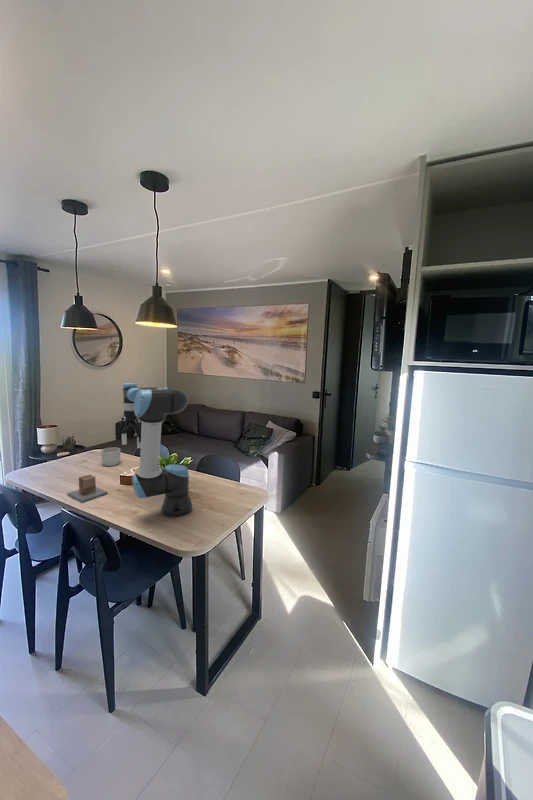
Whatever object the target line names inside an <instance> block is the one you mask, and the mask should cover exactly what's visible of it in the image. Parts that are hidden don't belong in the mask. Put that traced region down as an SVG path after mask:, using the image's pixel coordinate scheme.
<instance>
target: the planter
mask: <svg viewBox="0 0 533 800" xmlns="http://www.w3.org/2000/svg"><path fill="white" fill-rule="evenodd" d="M100 453H101V462H102V465H103V466H106V467H114V466H117V465H119V464H120V462H121V448H119V447H106V448H103V449H101V451H100Z"/></svg>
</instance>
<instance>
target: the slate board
mask: <svg viewBox="0 0 533 800" xmlns="http://www.w3.org/2000/svg"><path fill="white" fill-rule="evenodd" d="M107 495H109V493H108V491H106V490H104V489H102V488H98V487H97V486H96V492H95V493H92V494H89V495H86V496H85V495H82V494H80V493H79V489H77V490H76V489H75V490H74V491H70V492H67V493H66V496H67V497H70V498H72V499H73V500H75V501H77V502H79V503H81V504H84V503H87V502H89V501H92V500H95V499H97V498H101V497H104V496H107Z"/></svg>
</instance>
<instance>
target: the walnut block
mask: <svg viewBox="0 0 533 800" xmlns="http://www.w3.org/2000/svg"><path fill="white" fill-rule="evenodd" d="M96 487H97V485H96V476H94V475H93V474H87V475H83V476H80V477H78V490H79V493H80V494H82V495H85V496H86V495H89V494H92V493H95V492H96Z"/></svg>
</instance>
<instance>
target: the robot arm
mask: <svg viewBox="0 0 533 800" xmlns="http://www.w3.org/2000/svg"><path fill="white" fill-rule="evenodd" d="M122 395H123V397H122V398H123V417H121V422H120V425H119V428H118V433H120V434H121V445H122V446H125V445H127V444H128V439H127V436H128V435H127V431H128V429H129V427H132V429H133V430H134V431H135V433H136V434H137V435H136V436H137V437H136V445H137V446H136V447H137V449H140V453H139V454H140V459H139V467H138V468H137V469H136V473H134V474H133V475H132V476H131V480H132V486H133V492H134V494H135V496H136V498H137V499H148V498H151V497H156V496H161V495H164V499H163V503H162V505H161V513H162V514H163V515H164V516H166V517H170V518H171V517H172V518H174V517H176V518H177V517H183V516H185V515H187V514H189V513H190V512H192V510H193V503H192V500H191V497H190V494H189V492H190V491H189V489H190V488H189V487H190V485H189V484H190V482H189V481H190V479H189V478H190V475H189V469H188V467H187V466H185V465H183V464H177V463H176V464H167V465H165V466H164V467H163V469H162V466H160V458H161V456H160V455H161V441H162V440H161V439H162V438H161V437H162V423H164V422H165V420H166V415H176V414H179V413H181V412H183V411H184V410H185V409H186V408H187V406H188V405H189V396H188V394H187V393H186V392H185V391H184V390H182V389H179V388H178V389H177V388H168V387H166V386H154V387H147V386H146V387H143V386H142V387H138V384H137V382H136V383H135V382H126V383H125V382H124V383H123V384H122Z"/></svg>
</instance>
